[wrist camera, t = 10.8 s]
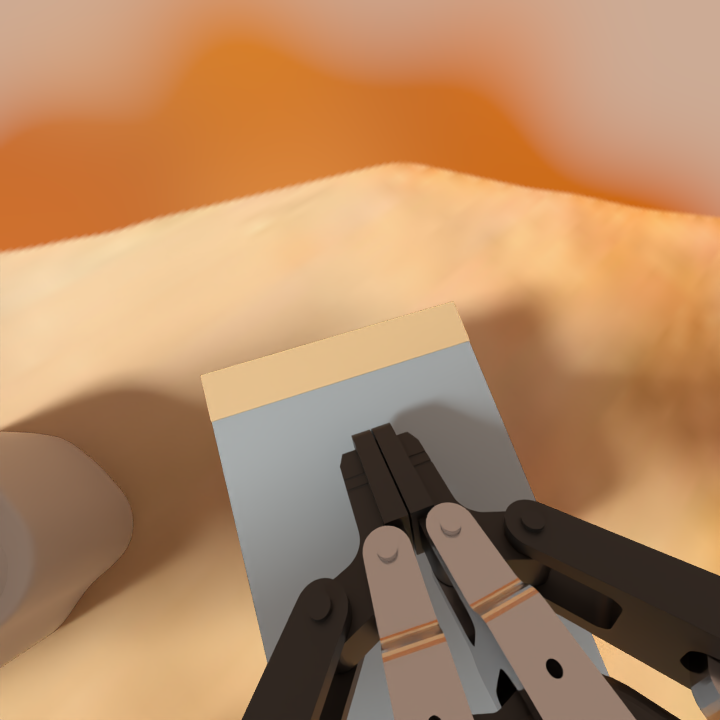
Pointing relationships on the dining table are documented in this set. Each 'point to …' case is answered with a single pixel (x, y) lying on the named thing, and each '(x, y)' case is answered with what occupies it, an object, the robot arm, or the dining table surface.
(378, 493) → the robot arm
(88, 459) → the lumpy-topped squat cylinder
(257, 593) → the plank
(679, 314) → the dining table surface
